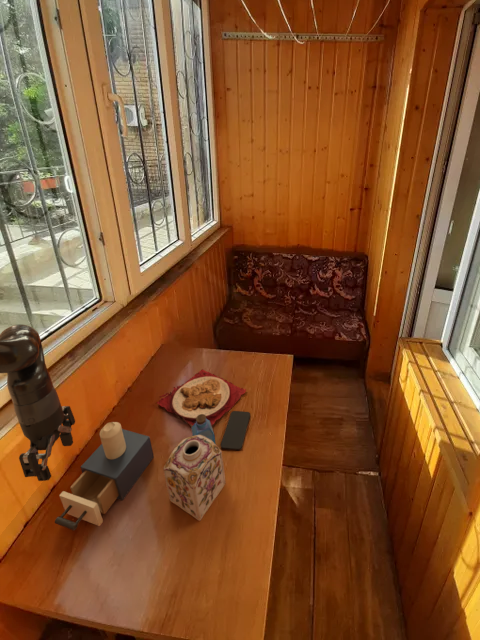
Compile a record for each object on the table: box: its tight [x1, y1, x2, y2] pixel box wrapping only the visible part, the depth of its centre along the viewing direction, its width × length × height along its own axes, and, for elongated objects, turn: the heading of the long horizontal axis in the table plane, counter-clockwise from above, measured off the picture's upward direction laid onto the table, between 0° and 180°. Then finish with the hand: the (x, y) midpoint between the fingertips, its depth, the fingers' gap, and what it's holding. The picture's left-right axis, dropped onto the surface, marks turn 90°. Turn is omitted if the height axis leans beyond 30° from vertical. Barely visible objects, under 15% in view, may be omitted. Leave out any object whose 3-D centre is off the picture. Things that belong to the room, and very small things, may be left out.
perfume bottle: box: [191, 414, 217, 445], centre depth 103 cm, size 6×6×12 cm
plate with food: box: [156, 368, 247, 427], centre depth 123 cm, size 24×26×3 cm
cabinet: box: [80, 428, 155, 502], centre depth 95 cm, size 14×13×9 cm
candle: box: [99, 421, 126, 459], centre depth 91 cm, size 6×6×10 cm
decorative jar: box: [162, 435, 226, 522], centre depth 87 cm, size 12×12×18 cm
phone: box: [220, 410, 251, 451], centre depth 110 cm, size 7×1×15 cm
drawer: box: [54, 470, 119, 532], centre depth 86 cm, size 17×11×7 cm
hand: (57, 461), depth 75 cm, fingers open, 8 cm apart
